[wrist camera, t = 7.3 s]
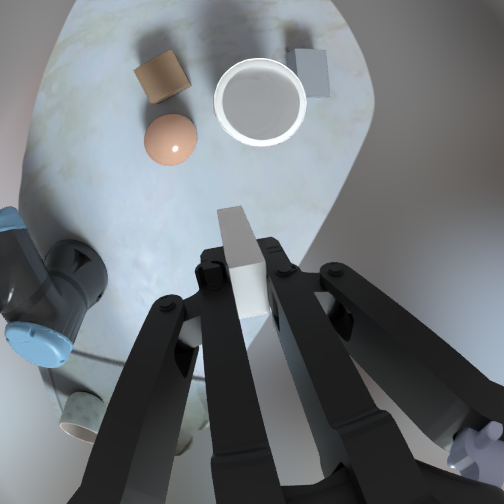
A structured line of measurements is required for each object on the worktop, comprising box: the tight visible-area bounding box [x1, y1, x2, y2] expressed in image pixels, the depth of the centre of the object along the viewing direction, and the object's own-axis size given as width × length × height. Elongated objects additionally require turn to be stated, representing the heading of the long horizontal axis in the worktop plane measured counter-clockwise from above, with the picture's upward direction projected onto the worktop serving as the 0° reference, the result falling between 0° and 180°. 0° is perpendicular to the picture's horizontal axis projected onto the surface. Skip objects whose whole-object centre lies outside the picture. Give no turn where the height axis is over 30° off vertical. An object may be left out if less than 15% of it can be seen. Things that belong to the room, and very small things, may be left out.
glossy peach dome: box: [144, 114, 198, 166], centre depth 38 cm, size 8×8×4 cm
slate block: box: [286, 49, 330, 97], centre depth 36 cm, size 5×8×5 cm, turn 5°
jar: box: [213, 58, 307, 147], centre depth 33 cm, size 11×10×15 cm
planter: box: [59, 392, 107, 444], centre depth 66 cm, size 17×17×15 cm
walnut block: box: [133, 49, 191, 104], centre depth 33 cm, size 6×6×6 cm
